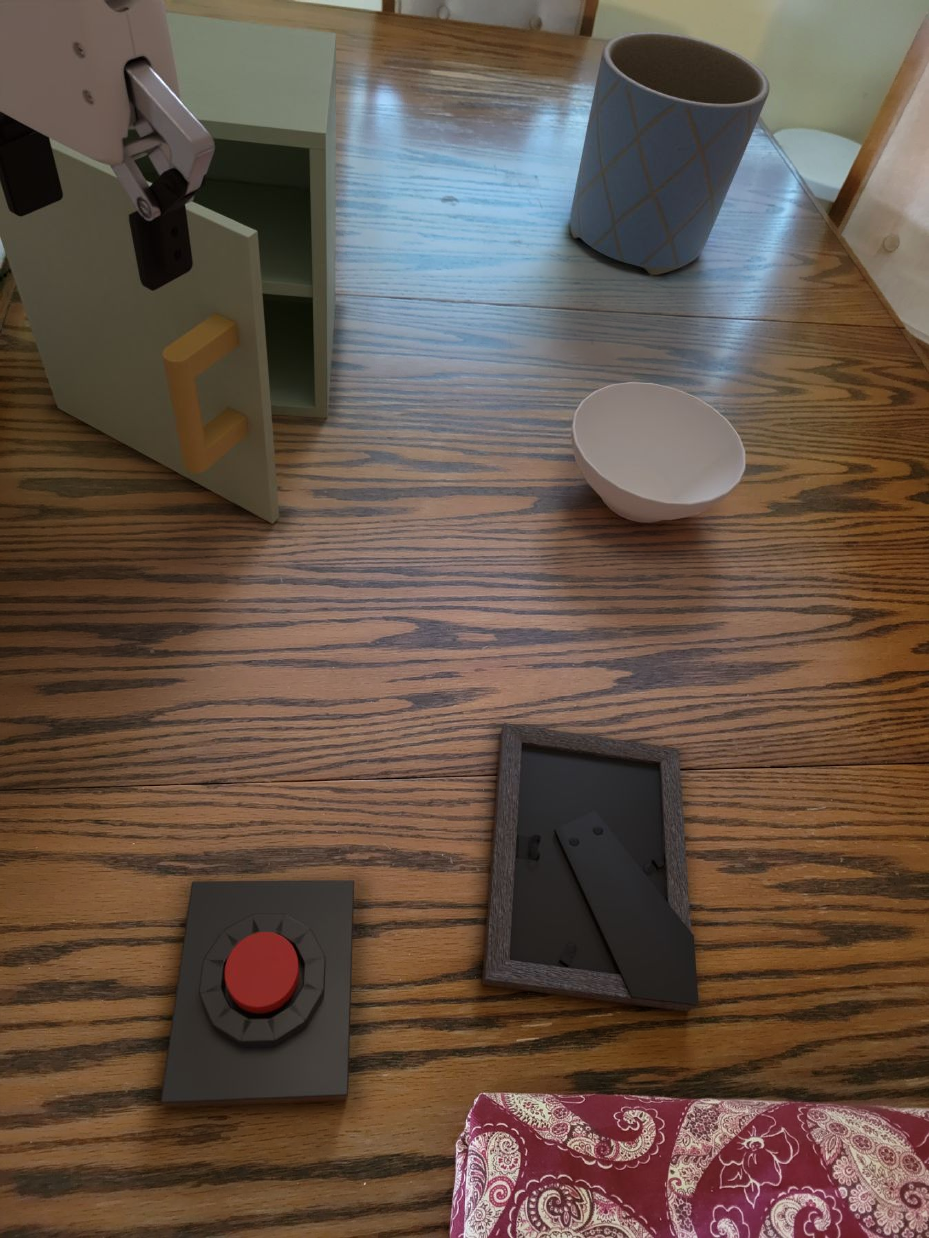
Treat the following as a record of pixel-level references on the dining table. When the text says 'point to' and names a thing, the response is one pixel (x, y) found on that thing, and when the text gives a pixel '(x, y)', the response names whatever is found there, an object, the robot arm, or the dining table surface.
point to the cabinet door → (150, 333)
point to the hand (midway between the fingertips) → (101, 241)
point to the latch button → (262, 972)
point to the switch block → (272, 1042)
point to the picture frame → (589, 871)
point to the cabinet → (272, 179)
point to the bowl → (655, 451)
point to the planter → (663, 146)
